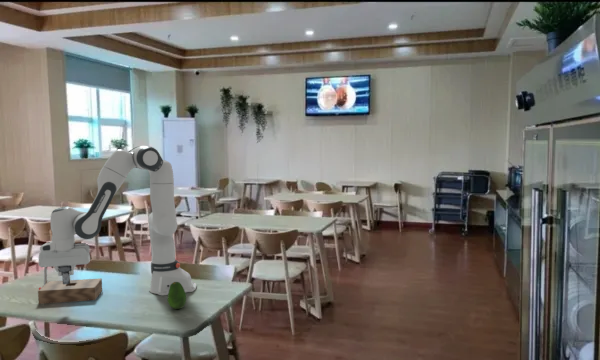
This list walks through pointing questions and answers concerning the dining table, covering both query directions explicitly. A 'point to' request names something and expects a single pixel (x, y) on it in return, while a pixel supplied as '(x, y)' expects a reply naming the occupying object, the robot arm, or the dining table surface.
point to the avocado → (176, 296)
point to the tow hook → (45, 277)
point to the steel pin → (65, 273)
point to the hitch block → (70, 291)
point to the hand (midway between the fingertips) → (66, 275)
